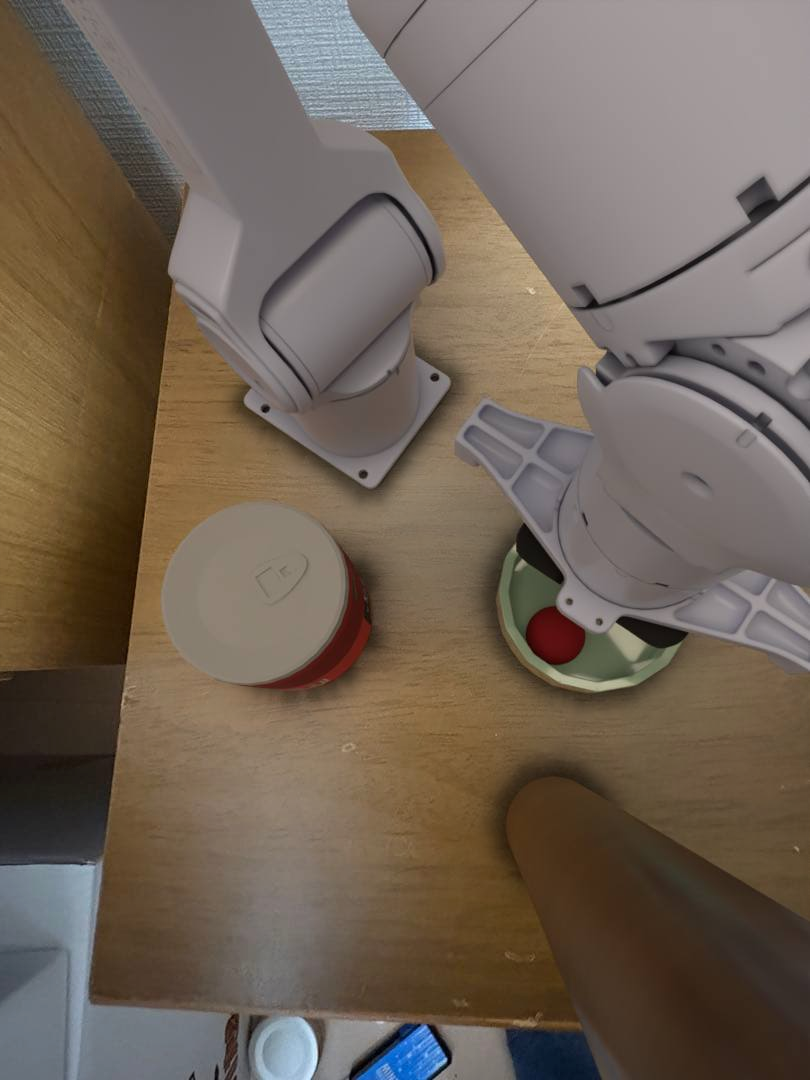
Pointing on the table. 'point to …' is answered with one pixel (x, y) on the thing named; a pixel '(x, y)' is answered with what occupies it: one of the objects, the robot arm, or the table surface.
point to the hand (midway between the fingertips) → (595, 572)
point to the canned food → (265, 599)
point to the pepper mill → (661, 945)
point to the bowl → (604, 655)
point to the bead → (554, 636)
